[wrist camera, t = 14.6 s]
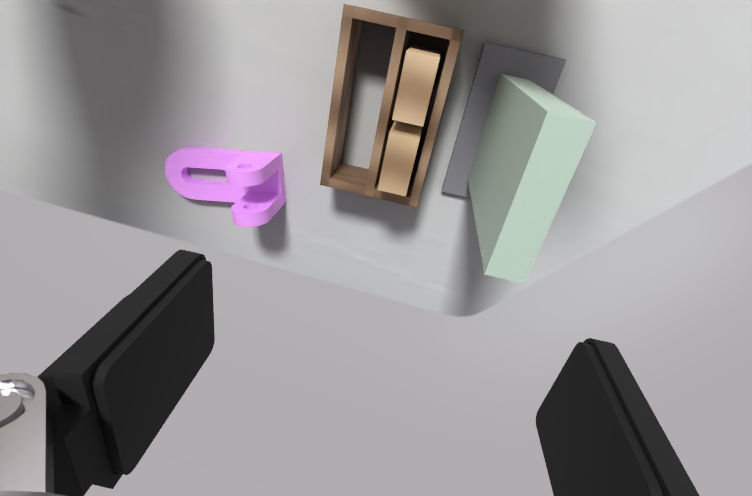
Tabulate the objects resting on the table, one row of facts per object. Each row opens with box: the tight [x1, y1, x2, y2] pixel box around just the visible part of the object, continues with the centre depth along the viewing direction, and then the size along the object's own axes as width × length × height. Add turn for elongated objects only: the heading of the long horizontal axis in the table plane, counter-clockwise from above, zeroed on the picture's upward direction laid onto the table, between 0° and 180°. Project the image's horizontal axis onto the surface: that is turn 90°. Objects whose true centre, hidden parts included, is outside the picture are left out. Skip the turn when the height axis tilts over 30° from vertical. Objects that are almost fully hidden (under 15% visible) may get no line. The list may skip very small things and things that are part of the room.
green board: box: [468, 74, 597, 284], centre depth 31 cm, size 10×2×18 cm, turn 169°
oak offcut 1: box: [392, 46, 440, 127], centre depth 34 cm, size 5×2×8 cm, turn 169°
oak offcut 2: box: [377, 120, 422, 196], centre depth 37 cm, size 5×2×8 cm, turn 169°
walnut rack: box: [320, 4, 463, 207], centre depth 37 cm, size 15×9×5 cm, turn 169°
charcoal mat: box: [442, 42, 566, 198], centre depth 39 cm, size 14×7×1 cm, turn 169°
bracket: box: [165, 147, 286, 227], centre depth 42 cm, size 13×6×7 cm, turn 89°
